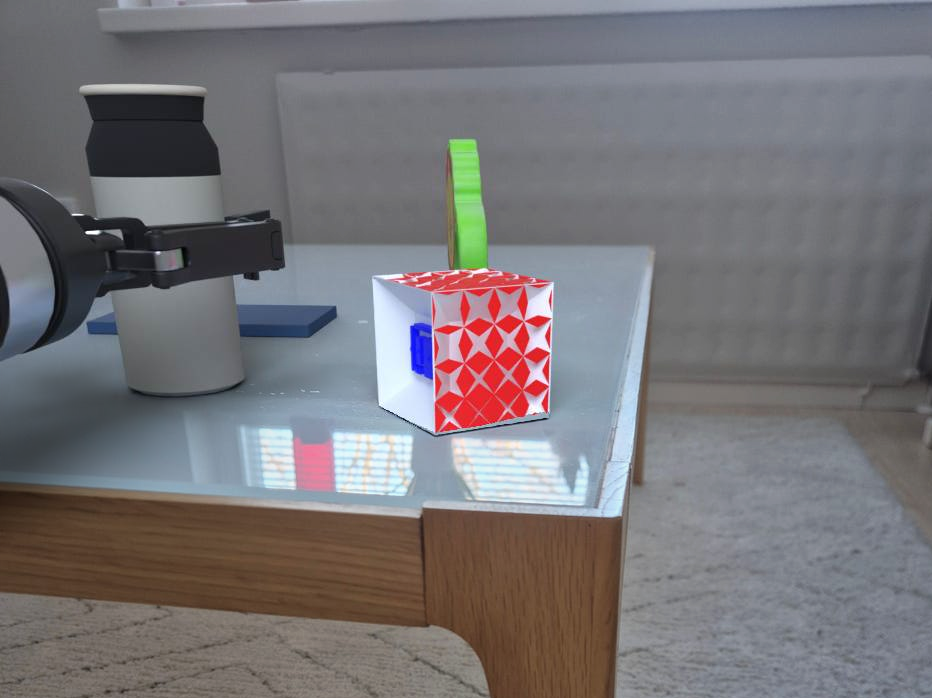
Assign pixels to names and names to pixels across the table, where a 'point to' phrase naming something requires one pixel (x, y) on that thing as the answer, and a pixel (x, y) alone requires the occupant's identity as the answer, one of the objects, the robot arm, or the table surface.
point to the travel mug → (161, 203)
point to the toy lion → (465, 207)
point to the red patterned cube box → (463, 346)
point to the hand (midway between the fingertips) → (164, 231)
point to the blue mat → (256, 320)
